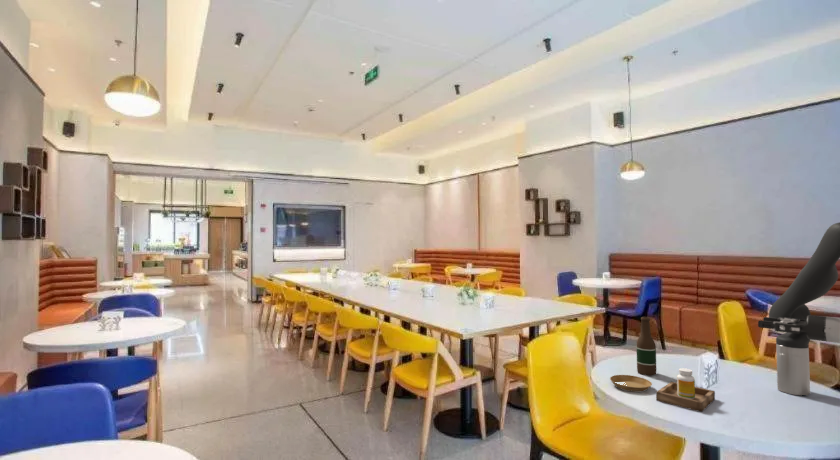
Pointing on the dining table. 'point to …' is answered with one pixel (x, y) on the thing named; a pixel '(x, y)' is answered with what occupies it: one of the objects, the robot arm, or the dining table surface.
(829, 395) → the dining table surface
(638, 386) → the plant saucer
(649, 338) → the beer bottle
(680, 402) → the serving tray
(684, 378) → the supplement bottle
